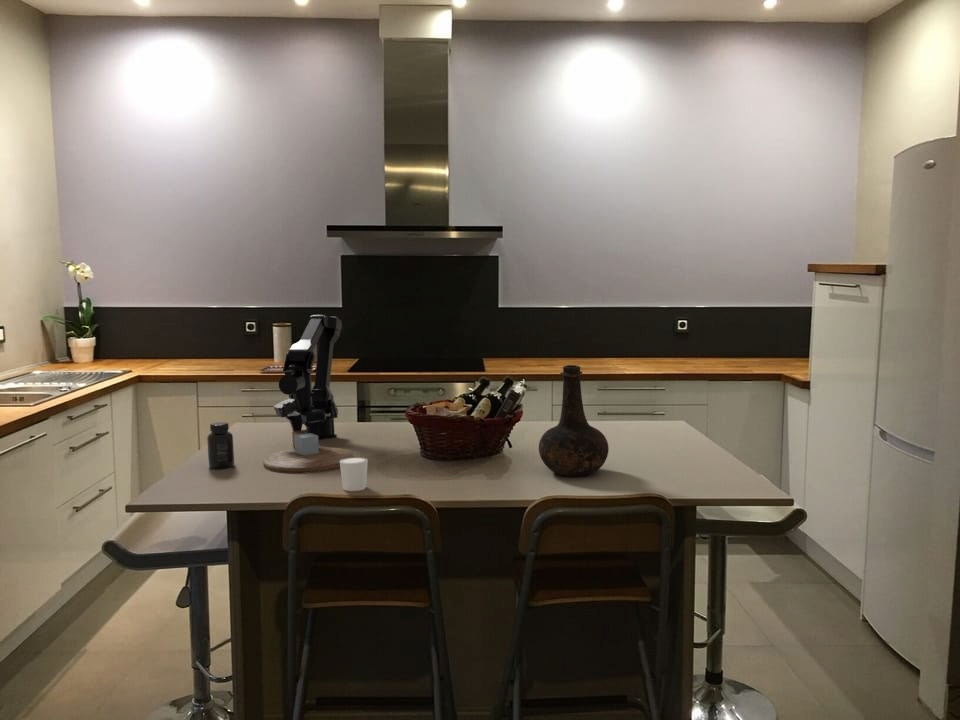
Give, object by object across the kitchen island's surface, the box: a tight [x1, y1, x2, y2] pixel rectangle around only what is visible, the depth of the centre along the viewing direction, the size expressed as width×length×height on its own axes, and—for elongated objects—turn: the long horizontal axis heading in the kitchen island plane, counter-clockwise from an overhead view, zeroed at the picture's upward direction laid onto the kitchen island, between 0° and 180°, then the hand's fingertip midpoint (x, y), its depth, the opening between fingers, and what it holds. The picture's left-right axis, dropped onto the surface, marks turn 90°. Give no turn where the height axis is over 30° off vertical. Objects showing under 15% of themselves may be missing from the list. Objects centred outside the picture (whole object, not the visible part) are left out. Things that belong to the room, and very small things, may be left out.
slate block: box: [294, 433, 320, 455], centre depth 241 cm, size 5×5×5 cm
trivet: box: [262, 446, 355, 474], centre depth 236 cm, size 25×25×2 cm
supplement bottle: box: [206, 421, 235, 470], centre depth 232 cm, size 7×7×12 cm
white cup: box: [339, 456, 369, 492], centre depth 207 cm, size 7×7×7 cm
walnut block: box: [291, 429, 307, 448], centre depth 255 cm, size 5×5×5 cm
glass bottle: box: [538, 364, 610, 477], centre depth 218 cm, size 18×18×28 cm
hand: (304, 440), depth 255 cm, fingers open, 9 cm apart
